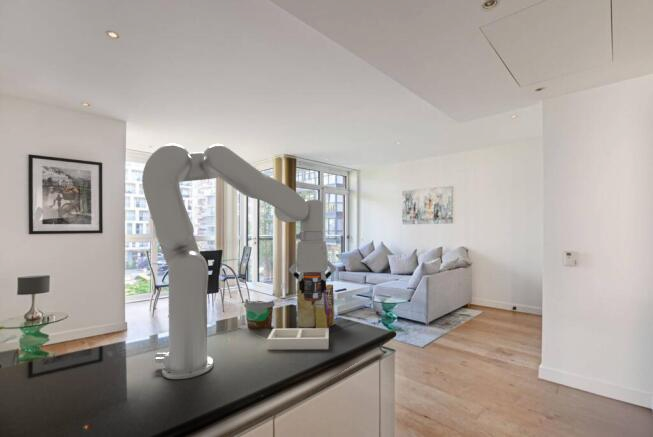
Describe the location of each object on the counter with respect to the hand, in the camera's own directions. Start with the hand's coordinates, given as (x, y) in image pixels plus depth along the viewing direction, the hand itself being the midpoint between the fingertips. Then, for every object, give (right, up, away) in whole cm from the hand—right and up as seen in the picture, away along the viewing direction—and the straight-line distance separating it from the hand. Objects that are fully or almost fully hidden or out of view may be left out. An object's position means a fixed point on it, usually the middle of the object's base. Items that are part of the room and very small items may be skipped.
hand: (312, 291), depth 102 cm
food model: (-3, -17, +18) cm, 25 cm away
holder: (-4, -17, 0) cm, 17 cm away
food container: (-22, -18, +16) cm, 32 cm away
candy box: (+4, -17, +16) cm, 24 cm away
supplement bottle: (0, -3, 0) cm, 3 cm away
